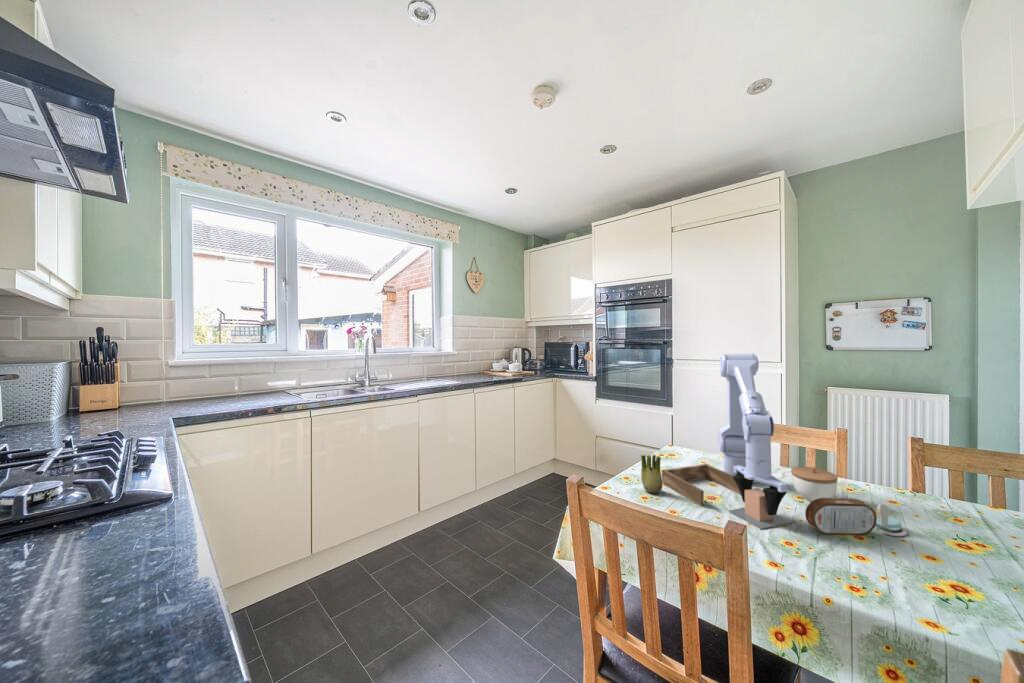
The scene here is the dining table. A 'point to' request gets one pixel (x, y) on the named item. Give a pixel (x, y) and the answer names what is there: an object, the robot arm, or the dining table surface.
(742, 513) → the mat
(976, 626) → the dining table surface
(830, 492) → the lidded jar
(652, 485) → the fennel bulb
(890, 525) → the pacifier
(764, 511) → the block
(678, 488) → the open frame
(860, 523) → the tin
